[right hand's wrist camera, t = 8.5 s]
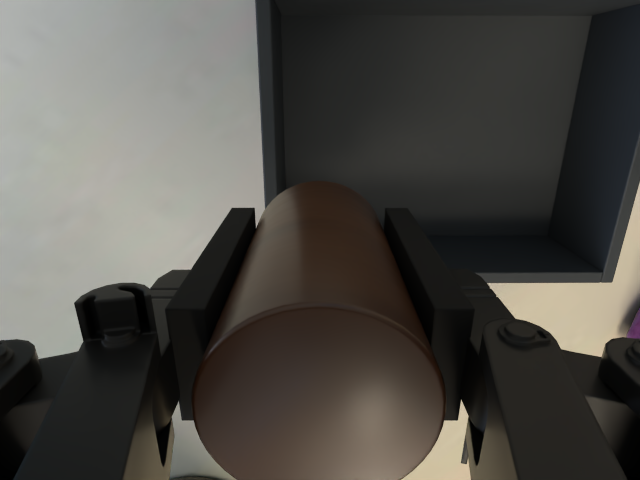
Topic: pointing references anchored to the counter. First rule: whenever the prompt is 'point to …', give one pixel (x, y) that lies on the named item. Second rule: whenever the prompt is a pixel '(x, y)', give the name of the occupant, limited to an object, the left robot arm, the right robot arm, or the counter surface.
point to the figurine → (635, 327)
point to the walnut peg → (319, 351)
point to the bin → (464, 122)
